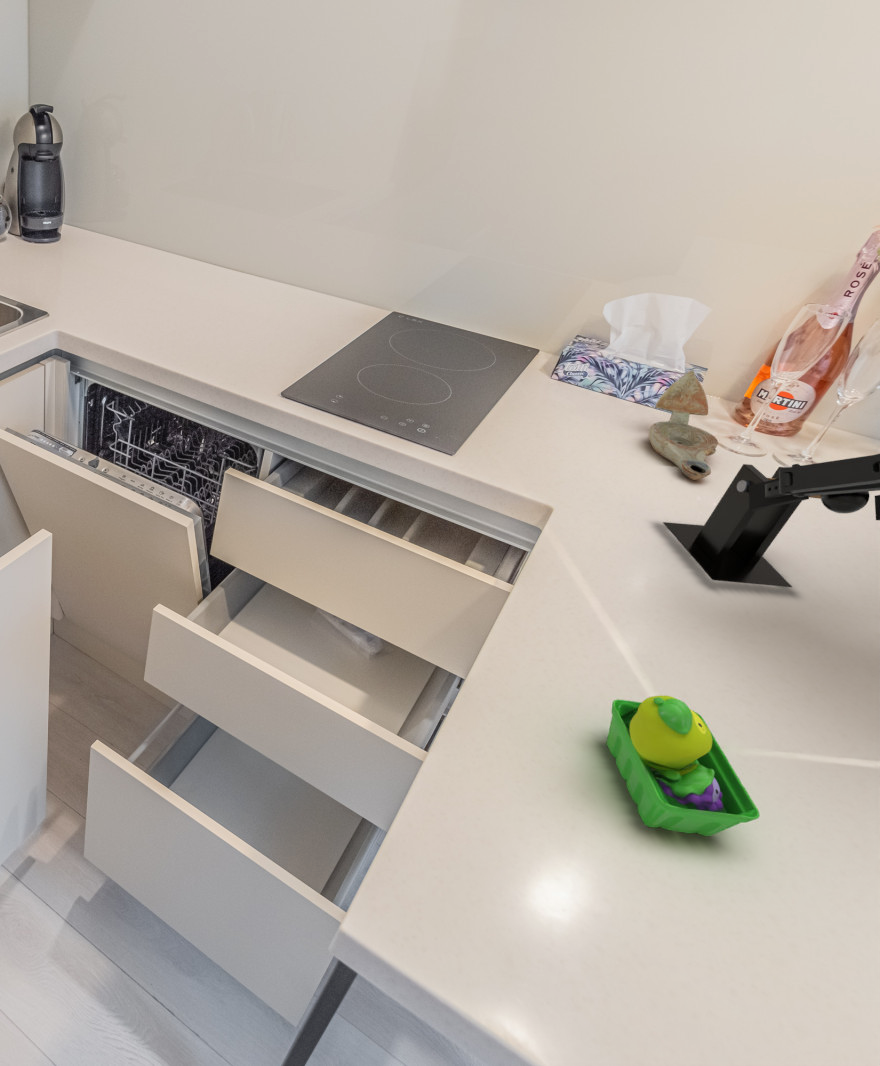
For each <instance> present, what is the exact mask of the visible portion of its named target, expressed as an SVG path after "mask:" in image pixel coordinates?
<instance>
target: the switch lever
mask: <svg viewBox="0 0 880 1066" xmlns="http://www.w3.org/2000/svg"><path fill="white" fill-rule="evenodd" d="M767 478H768V479H769V480H774V479H776V478H772V477H767ZM810 498H811V499H820V501H821V503H822V505H823V506H824V507H825V508H826V509H827V510H829V511H831V512H833V513H836V514H852V513H856V512H858V511H860V510H862V509H864V508H865V507H866V505H867V504H868V502H869V500H870V491H867V492H853V493H840V494H827V495H814V496H809V499H810Z"/></svg>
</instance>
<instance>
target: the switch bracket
mask: <svg viewBox="0 0 880 1066" xmlns="http://www.w3.org/2000/svg"><path fill="white" fill-rule="evenodd" d="M781 468H785V466H778V468H777V469H776V470H775V472H774V474H773V475H772V476H771V478H776V479H777V478H779V469H781ZM768 478H769V477H767V476H766V475H764V474H763V473H762V472H761V471H760V470H759V469H757V467H755V466H754V465H753V464H747V463H743V464H742V466H741V467H740V468H739V470H738V472H737V473H736V474H735V476H734V478H733V480H732V481H731V483H730V484H729V486H728V487H727V489H726V491H725V492H724V493H723V495H722V497H721V498H720V500H719V502H718V503H717V504H716V506H715V508H714V509H713V511H711V514H710V515H709V517H708V518H707V520H706V521H705V523H704V524H703V525H702V524H701V525H700V524H690V523H680V522H679V523H677V522H667V521H663V522H662V524H664V526H665V527H666V528H667V529H668V530H669V532H670V533H671V534H672V535H673V537H675V538H676V540H677V541H678V542H679V543H680V544H681V545H682V547H683V548H684V549H685V550H686V551H687V553H688V554H690V556H691V557H692V558H693V559H694V561H695V562H696V563H697V564H698V565H699V567H700V568H701V569H702V570H703V571H704V572H705V573H706V574H707V576H708V577H709V578H710V579H711V580H712V581H716V582H719V581H720V582H727V583H728V582H729V583H740V584H750V585H751V584H752V585H762V586H774V587H783V588H784V587H785V588H793V586H792V585H791V584H790V582H789V581H788V580H786V579H785V578H784V577H783V576H782V574H781V573H779V572H778V571H777V569H775V568H774V566H773V565H772V564H771V563H769V561H768V560H767V559H765V557H764V554H765V553H766V552H767V550H768V549H769V547H770V546H771V544H772V543H773V542H774V540H775V539H776V538H777V536H778V535H779V534H780V532H781V531H782V529H783V528H784V527H785V525H786V524H787V523H788V521H789V520H790V519H791V517H792V515H793V514H794V513H795V512H796V510H797V509H798V508H799V506H800V504H801V503H802V501H798V502H793V503H789V504H784V505H779V506H775V507H770V508H766V509H761V510H749V486H750V485H754V484H758V483H762V482H766V481H770V480H769V479H768Z"/></svg>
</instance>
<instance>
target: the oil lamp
mask: <svg viewBox="0 0 880 1066" xmlns="http://www.w3.org/2000/svg"><path fill="white" fill-rule="evenodd" d="M708 402H709V401H708V398H707V395H706V393H705V390H704V388H703V386H702V384H701V383H700V381H699V378H697V376H696V373H695V371H694V370H689V371H687V372H686V373H685V374H683V375H682V376H680V377H679V378H678V379H676V380H675V381H674V382H673V383H672V384H671V385H669V387H667V389H666V390H664V392H663V393H662V394H661V396H660V397H659V398H658V400H657V401H656V403H655V405H654V407H655V409H659V410H664V411H668V412H670V413H671V415H670V417H669V420H667V421H658V422H655V423H653V424H651V426H650V428H649V430H648V438H649V442H650V444H651V447H652V449H653V450H654V451H655V452H656V453H657V454H658V455H659V456H661V457H663V458H665V459H667V460H668V461H670V462H671V463H672V464H674V465H676V466H677V467H678V468H679V469H680V471H681V472H682V474H683V475H684V476H685V477H686V478H687V479H690V480H692V481H695V480H701V479H704V478H706V477H708V476H710V475H711V473H712V470H711V468H710V466H709V465H708V464H707V461H705V460H706V458H707V457H709V456H712V455H714V454H715V453H716V452H717V447H718V446H719V440H718V439H717V437H716V436H714V435H713V434H712V433H710V432H709V431H707V430H703V429H702V428H699V427H697V426H694V425H690V424H689V421H690V415H695V416H708V414H709V403H708Z"/></svg>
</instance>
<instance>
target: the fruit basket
mask: <svg viewBox="0 0 880 1066" xmlns="http://www.w3.org/2000/svg"><path fill="white" fill-rule="evenodd" d="M713 734H714V733H712V731H711V729H710V727H709V726H708V724H707V723H706V720H705V719H704V717H703V716H702V715H701V714H699V713H698V712H696V711H694V710H692V709H691V708H690V707H689V706H688V704H687V703H685V702H684V701H682V700H681V699H678V698H676V697H674V696H671V695H660V694H659V695H654V696H653V695H652V696H649V697H648V698H645V699H644V700H643V701H636V700H635V701H634V700H627V699H619V698H617V699H614V700H612V705H611V719H610V725H609V730H608V733H607V739H606V746H607V748H608V750H609V752H610V754H611V755H612V757H613V758H614V759H615V765H616V767H617V769H618V771H619V774H620V776H621V777H622V778H623V780H624V781H625V784H626V788H627V791H628V793H629V795H630V797H631V799H632V801H633V802H634V803H635V804H636V805H637V812H638V814H639V817H640V818H641V821H642V823H643V825H645V826H646V827H648V828H662V829H664V830H666V831H673V832H678V833H685V834H696V833H697V834H698V835H702V836H704V837H711V836H714V835H716V834H719V833H721V832H723V831H725V830H727V829H730V828H732V827H734V826H737V825H739V824H743V823H744V824H746V823H749V822H752V821H755V820H758V819H759V818H760V812H759V809H758V807H757V805H756V804H755V803H754V801H753V799H752V797H751V796H750V794H749V792H748V791H747V789H746V788H745V786H744V785H743V783H742V782H741V779H740V777H739V776H738V775H737V773H736V771H735V769H734V768H733V766H732V764H731V763H730V761H729V759H728V758H727V756H726V754H725V753H724V751H723V750H722V748H721V746H720V745H719V743H718V741H717V740H716V738H715V736H714V735H713Z"/></svg>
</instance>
